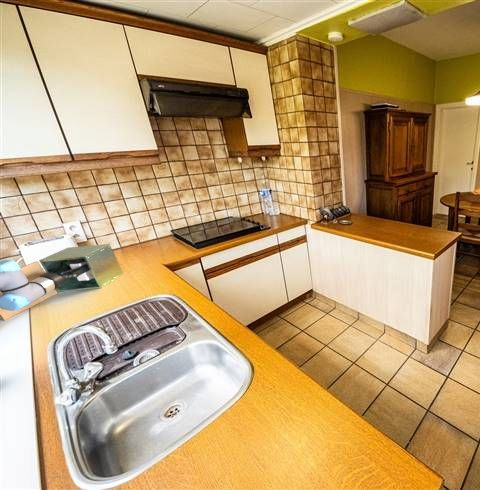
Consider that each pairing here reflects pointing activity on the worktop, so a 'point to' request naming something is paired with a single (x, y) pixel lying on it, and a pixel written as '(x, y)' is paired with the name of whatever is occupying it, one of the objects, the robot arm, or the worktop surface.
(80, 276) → the jar
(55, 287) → the robot arm
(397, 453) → the worktop surface
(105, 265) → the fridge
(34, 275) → the fridge door
